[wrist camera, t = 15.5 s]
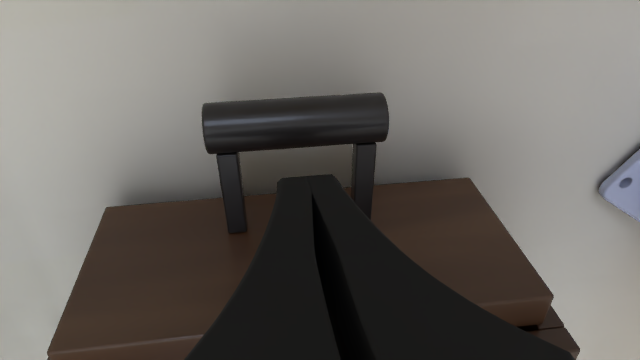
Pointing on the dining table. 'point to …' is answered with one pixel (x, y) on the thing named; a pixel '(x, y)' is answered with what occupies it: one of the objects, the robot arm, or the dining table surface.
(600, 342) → the dining table surface
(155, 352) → the drawer
